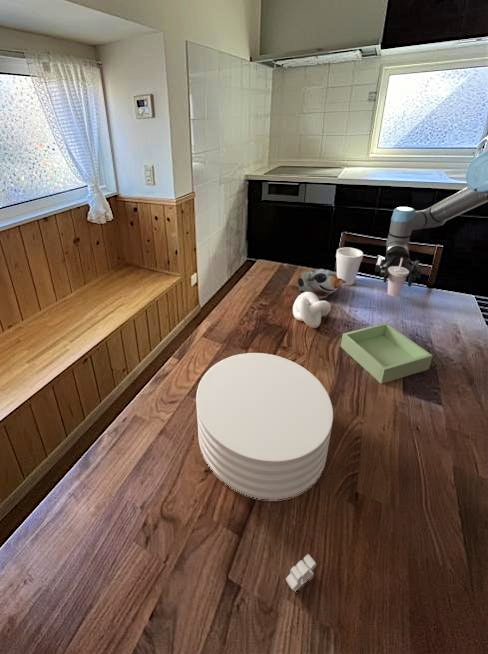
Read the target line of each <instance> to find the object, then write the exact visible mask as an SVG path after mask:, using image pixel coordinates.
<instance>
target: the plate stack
mask: <svg viewBox="0 0 488 654" xmlns="http://www.w3.org/2000/svg"><path fill="white" fill-rule="evenodd" d="M195 405H196V406H195V407H196V420H197V436H198V443H199V444H198V446H199V449H200V452H201V455H202V454H203V455H202V458H203V461H204V462H205V464H206V465H207V464H208V465H207V467H208V468H209V467H210V468H209V470H210V471H211V470H212V471H213V472H212V471H211V472H212V474H213V475H214V476H215V477H216V479H218V480H219V481H220V482H221V483H223V482H224V483H226V484H227V485H228V486H229V487H228V486H227V485H226V484H224V483H223V484H224V485H225V486H226V487H228V488H229V489H230V490H232V491H233V492H236V493H238V494H240V495H242V496H244V497H247V498H250V499H254V500H258V501H262V500H261V499H269V500H263V501H266V502H280V501H281V502H282V501H286V500H290V499H294V498H296V497H298V496H300V495H303V494H304V493H306V492H307V491H308V490H310V489H311V488H312V487H313V486H314V485H315V484H316V483H317V482H318V480H319V479H320V478H321V476H322V474H323V472H324V469H325V466H326V462H327V458H328V457H327V456H328V451H329V444H330V439H331V434H332V428H333V422H334V421H333V420H334V409H333V405H332V401H331V398H330V396H329V394H328V392H327V390H326V388H325V386H323V384H322V382H321V381H320V380H319V379H318V378H317V377H316V376H315V375H314V374H313V373H311V372H310V371H309V370H308V369H306V368H305V367H303V366H302V365H300V364H298V363H296V362H294V361H293V360H290V359H287V358H285V357H283V356H279V355H275V354H270V353H263V352H246V353H239V354H235V355H232V356H231V355H230V356H228V357H226V358H223V359H222V360H220V361H218V362H216V363H215V364H214V365H212V366H211V367H210V368H209V369H208V370H207V371H206V372H205V373H204V375H203V376H201V379H200V381H199V383H198V386H197V390H196V395H195ZM322 471H323V472H322ZM321 473H322V474H321ZM318 478H319V479H318ZM317 479H318V480H317ZM316 480H317V481H316ZM222 481H223V482H222ZM313 484H314V485H313ZM311 485H313V486H311ZM310 486H311V487H310ZM230 487H231V488H230ZM309 487H310V488H309ZM308 488H309V489H308ZM233 489H234V490H233ZM306 489H308V490H306ZM235 490H236V491H235ZM305 490H306V491H305ZM237 491H238V492H237ZM303 491H305V492H303ZM239 492H240V493H239ZM301 492H303V493H301ZM241 493H242V494H241ZM299 493H301V494H299ZM243 494H244V495H243ZM297 494H299V495H297ZM246 495H247V496H246ZM294 495H297V496H295V497H292V498H288V497H291V496H294ZM249 496H250V497H249ZM252 497H254V498H252ZM256 498H258V499H256ZM283 498H288V499H283ZM270 499H271V500H270ZM273 499H274V500H273ZM277 499H283V500H277Z"/></svg>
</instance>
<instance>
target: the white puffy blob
mask: <svg viewBox="0 0 488 654" xmlns="http://www.w3.org/2000/svg"><path fill="white" fill-rule="evenodd" d="M296 297H297V298H296V299H295V301H294V303H293V305H292V315H293V318H295V320H297V321H299V322H303V323H305V325H306V326H307V327H309V328H310V329H318V328H319V326H320V325H321V322H322V317H324V316H327V315H328V314H329V313H330V312H331V311H332V305H331V303H330V302H328V301H327V300H319V299H318V297H317V296H316V295H315V294H314V293H312V292H304V293H300V294H299V295H298V296H296Z"/></svg>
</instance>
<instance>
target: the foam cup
mask: <svg viewBox="0 0 488 654" xmlns="http://www.w3.org/2000/svg"><path fill="white" fill-rule="evenodd" d="M363 257H364V252H363V251H362V250H361V249H358V248H354V247H348V246H347V247H346V246H345V247H339V248H337V249H336V253H335V258H336V275H337V277H338V278H340V279H342V280H344V281H346V284H345V285H344V286H352V285H354V284H355V281H356V278H357V276H358V272H359V270H360V266H361V263H362V261H363V259H364V258H363Z"/></svg>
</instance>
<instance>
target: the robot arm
mask: <svg viewBox="0 0 488 654" xmlns="http://www.w3.org/2000/svg"><path fill="white" fill-rule="evenodd" d="M465 172H466V173H465V181H466V184H467V186H466V187H464V188H463V189H461V190H459V191H458V192H456V193H454V194H452V195H450V196H448V197H446V198H444V199H442V200H440V201H438V202H437V203H435V204H433V205H432V206H429V207H427V208H425V209H422V210H421V209H420V210H416V209H415V208H413V207H408V206H399V207H396V208H394V209H393V212H392V216H391V218H390V226H389V232H388V235H387V239H386V242H385V246H386V249H385V250H386V251H385V256H382V255H380V254H378V255H377V256H376V262H375V263H376V264H375V268H374V272H375V273H378V272H379V275H380V276H381V277H383V283H385V284H386V283H387V282H388V268H389V267H392V266H399V265H400V261H401V258H403V260H402V265H401V267H403V268H406V269H407V270H409V275H408V276H407V287H412V284H413V282H415V281H416V278H417V279H420V278H421V276H422V268H421V267H420V266H421V265H420V260H417V259H416V260H412V259H410V251H409V244H410V239H411V236H412V232H413V231H418V230H423V229H424V230H425V229H431V228H433V229H434V228H437V227H440V226H444V225H445V224H446V222H447V221H448V220H449V221H450V220H451V219H454V218H455V217H458V216H460V215H462V214H464V213H466V212H468V211H471V210H473V209H476V208H477V207H479V206H481V205H483V204H486V203H488V150H487V151H484V152H482V153H480V154H478V155H476V156H475V157H474V158H473V159H472V161H470V163H469V164H468V168H467V170H466V171H465ZM383 262H384V263H383Z"/></svg>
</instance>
